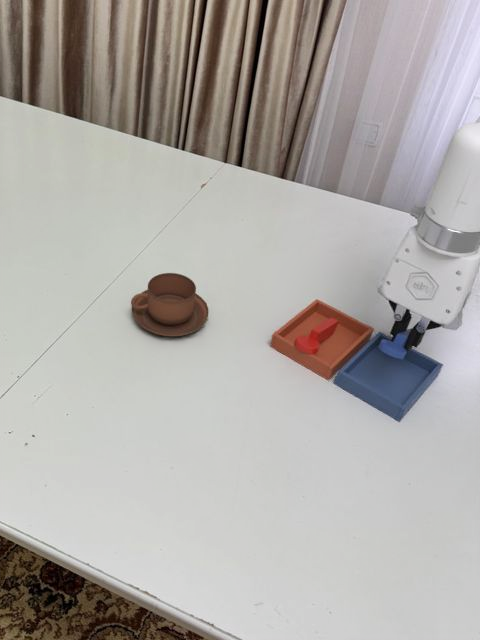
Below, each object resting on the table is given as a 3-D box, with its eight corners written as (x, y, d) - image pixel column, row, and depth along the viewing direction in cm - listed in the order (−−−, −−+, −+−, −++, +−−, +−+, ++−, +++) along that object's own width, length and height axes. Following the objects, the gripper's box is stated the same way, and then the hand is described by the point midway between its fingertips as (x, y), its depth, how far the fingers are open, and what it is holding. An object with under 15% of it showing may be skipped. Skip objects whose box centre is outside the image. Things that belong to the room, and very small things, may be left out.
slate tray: (437, 376, 92) (443, 364, 90) (399, 422, 85) (405, 409, 83) (374, 343, 97) (379, 331, 95) (333, 383, 90) (337, 371, 88)
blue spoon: (399, 360, 82) (407, 344, 81) (374, 347, 83) (382, 332, 82) (418, 350, 90) (426, 336, 89) (396, 338, 91) (403, 324, 91)
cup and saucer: (156, 352, 92) (158, 320, 88) (118, 308, 99) (118, 276, 95) (222, 328, 97) (226, 297, 93) (181, 287, 104) (183, 257, 100)
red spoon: (310, 356, 89) (316, 343, 88) (289, 345, 91) (295, 331, 90) (340, 337, 97) (345, 324, 95) (320, 326, 98) (325, 313, 97)
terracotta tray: (369, 340, 97) (374, 328, 96) (328, 380, 90) (332, 368, 88) (313, 310, 102) (316, 298, 100) (269, 346, 95) (272, 334, 93)
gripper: (379, 216, 77) (341, 330, 89) (503, 269, 70) (443, 385, 82) (405, 196, 81) (366, 307, 93) (525, 244, 74) (465, 358, 86)
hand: (402, 343), depth 87 cm, fingers closed on blue spoon, 1 cm apart
